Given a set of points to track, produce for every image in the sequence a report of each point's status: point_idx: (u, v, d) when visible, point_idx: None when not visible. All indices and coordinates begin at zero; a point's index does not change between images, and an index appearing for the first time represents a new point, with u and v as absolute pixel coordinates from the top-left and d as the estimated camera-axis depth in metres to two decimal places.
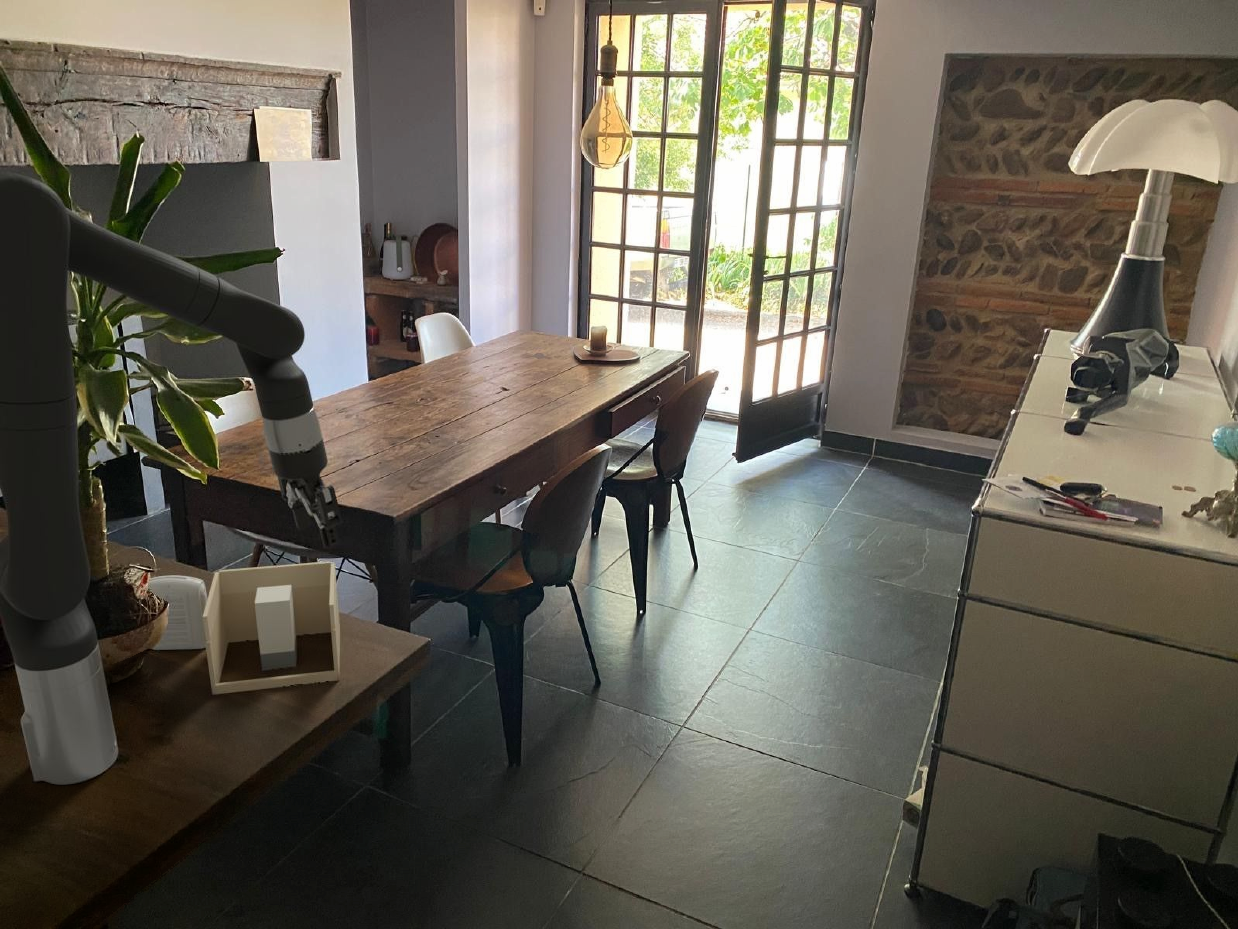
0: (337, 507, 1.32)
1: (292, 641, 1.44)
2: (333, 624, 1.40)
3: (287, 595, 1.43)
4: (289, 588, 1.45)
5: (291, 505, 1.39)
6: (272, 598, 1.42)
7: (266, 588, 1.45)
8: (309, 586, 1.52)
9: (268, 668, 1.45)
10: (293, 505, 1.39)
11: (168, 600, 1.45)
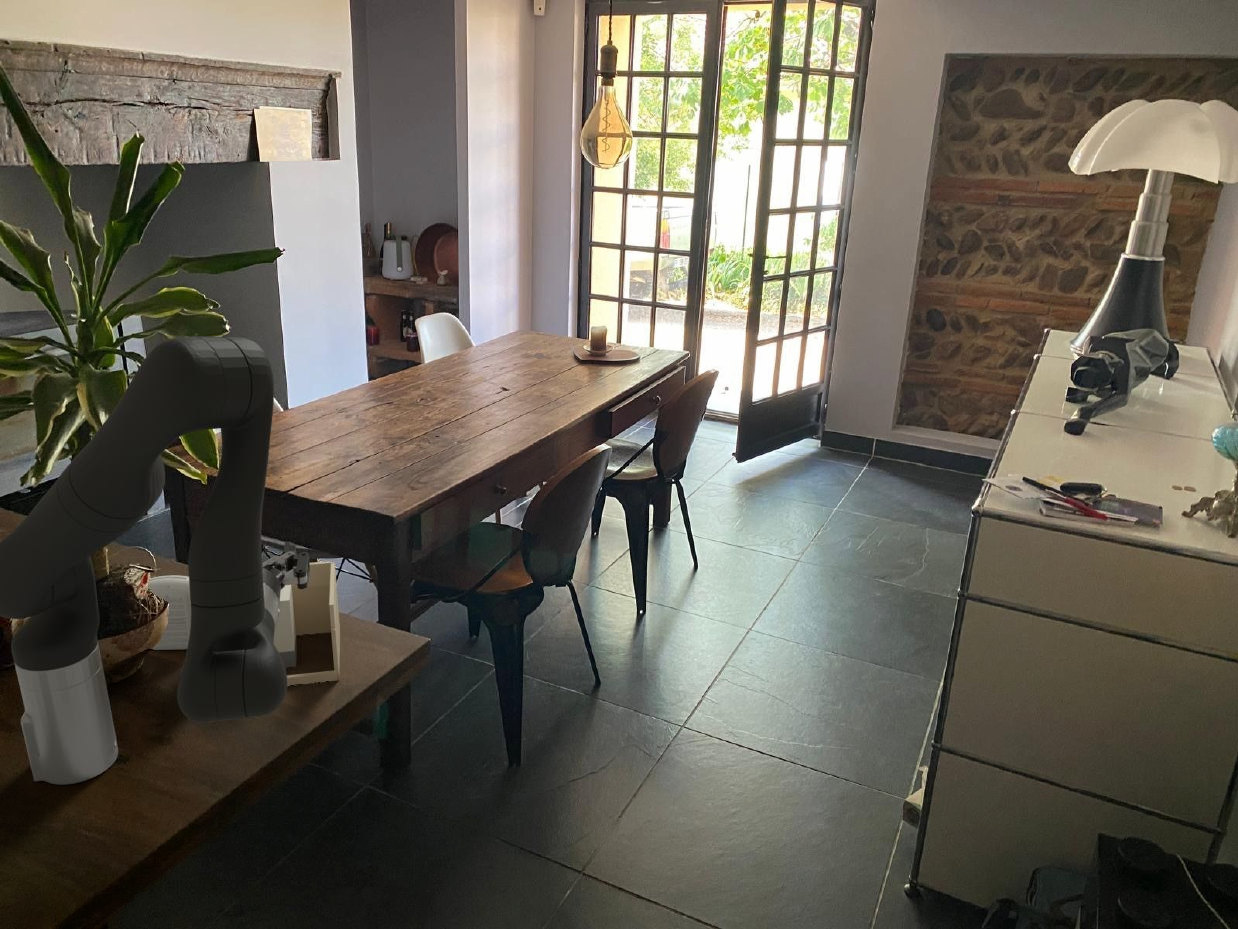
0: None
1: (292, 641, 1.44)
2: (333, 624, 1.40)
3: (287, 595, 1.43)
4: (289, 588, 1.45)
5: (285, 553, 1.23)
6: None
7: None
8: (309, 586, 1.52)
9: None
10: None
11: (168, 600, 1.45)
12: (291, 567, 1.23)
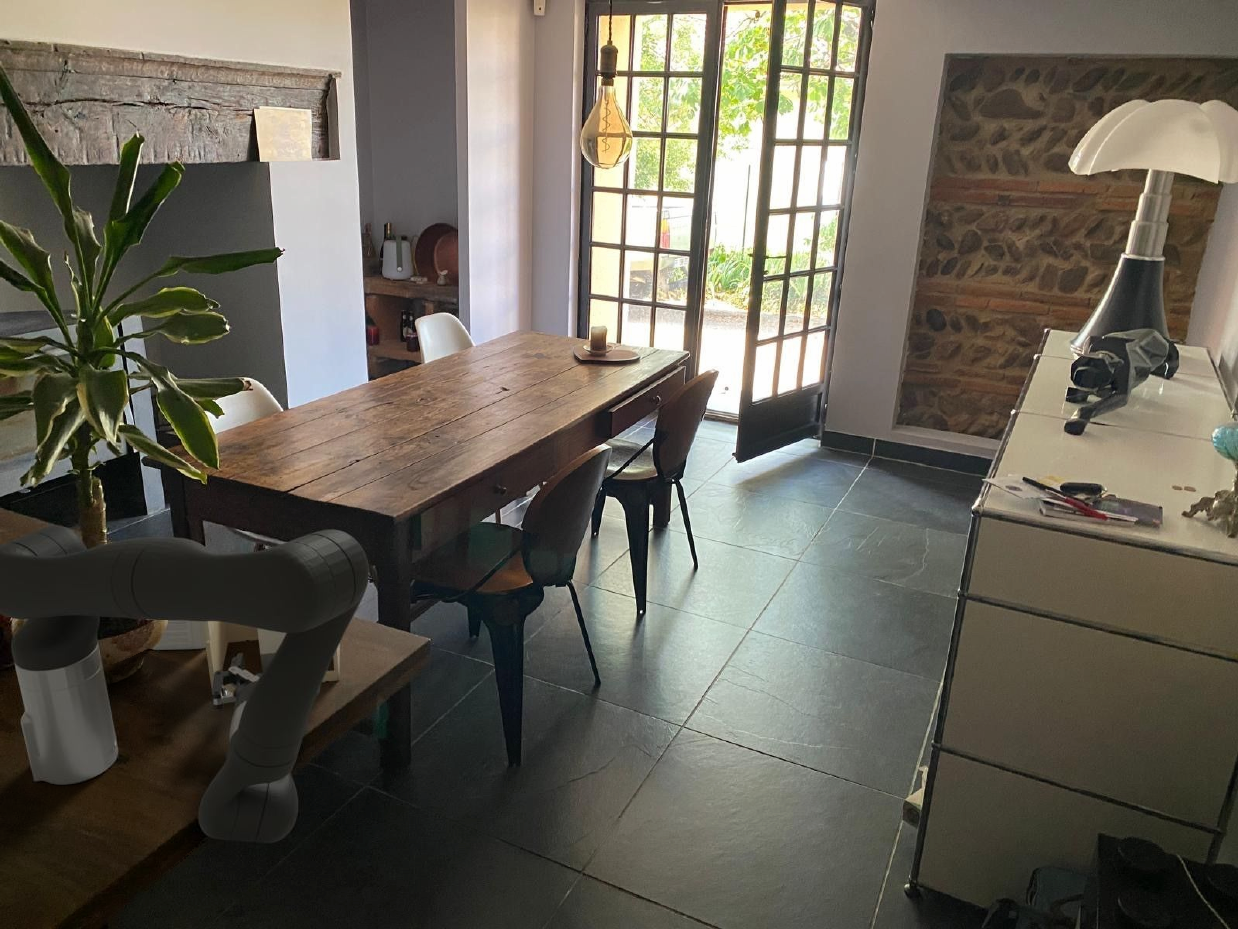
0: None
1: None
2: None
3: None
4: None
5: None
6: None
7: None
8: None
9: None
10: None
11: None
12: None
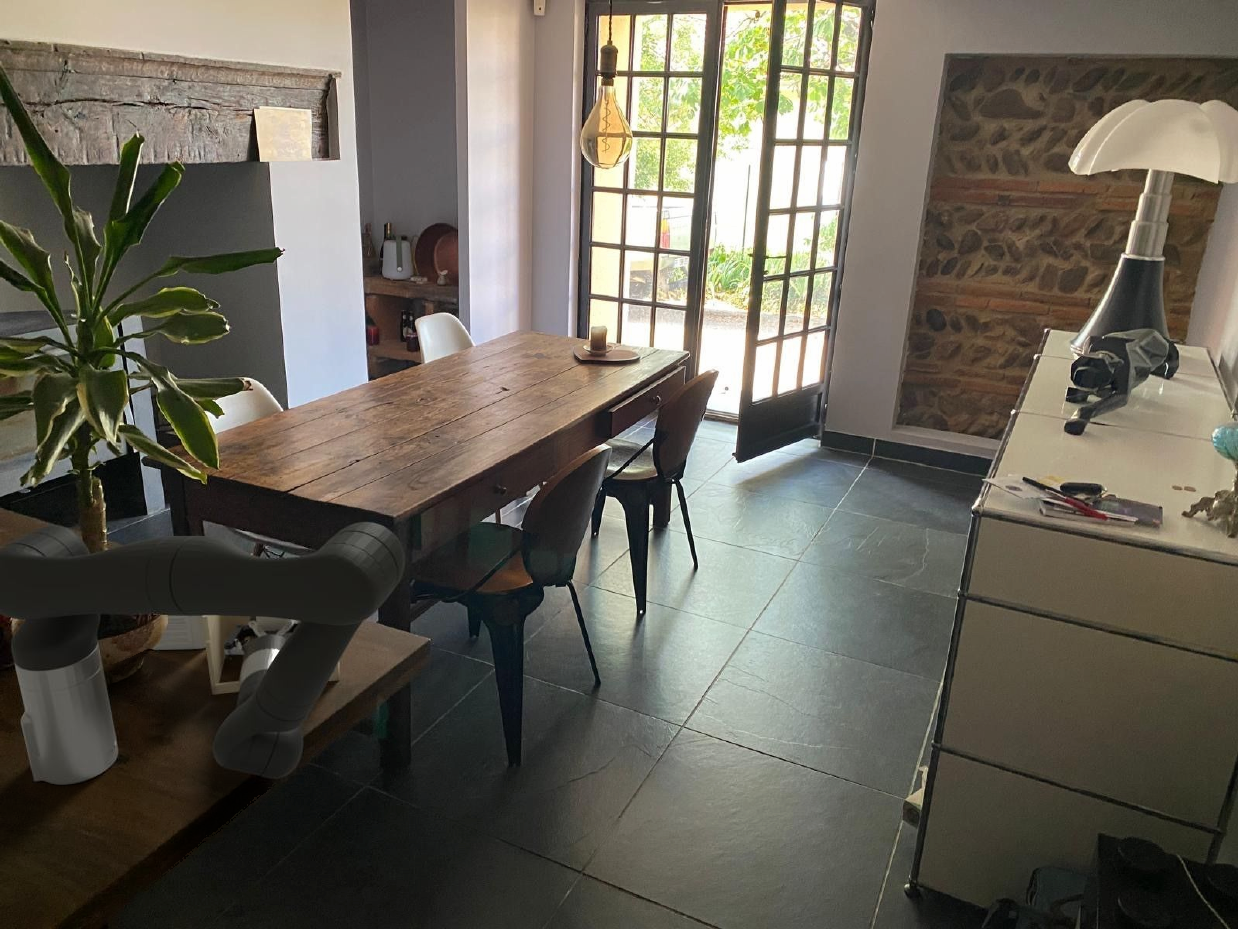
0: None
1: None
2: None
3: None
4: None
5: None
6: None
7: None
8: None
9: None
10: None
11: None
12: None
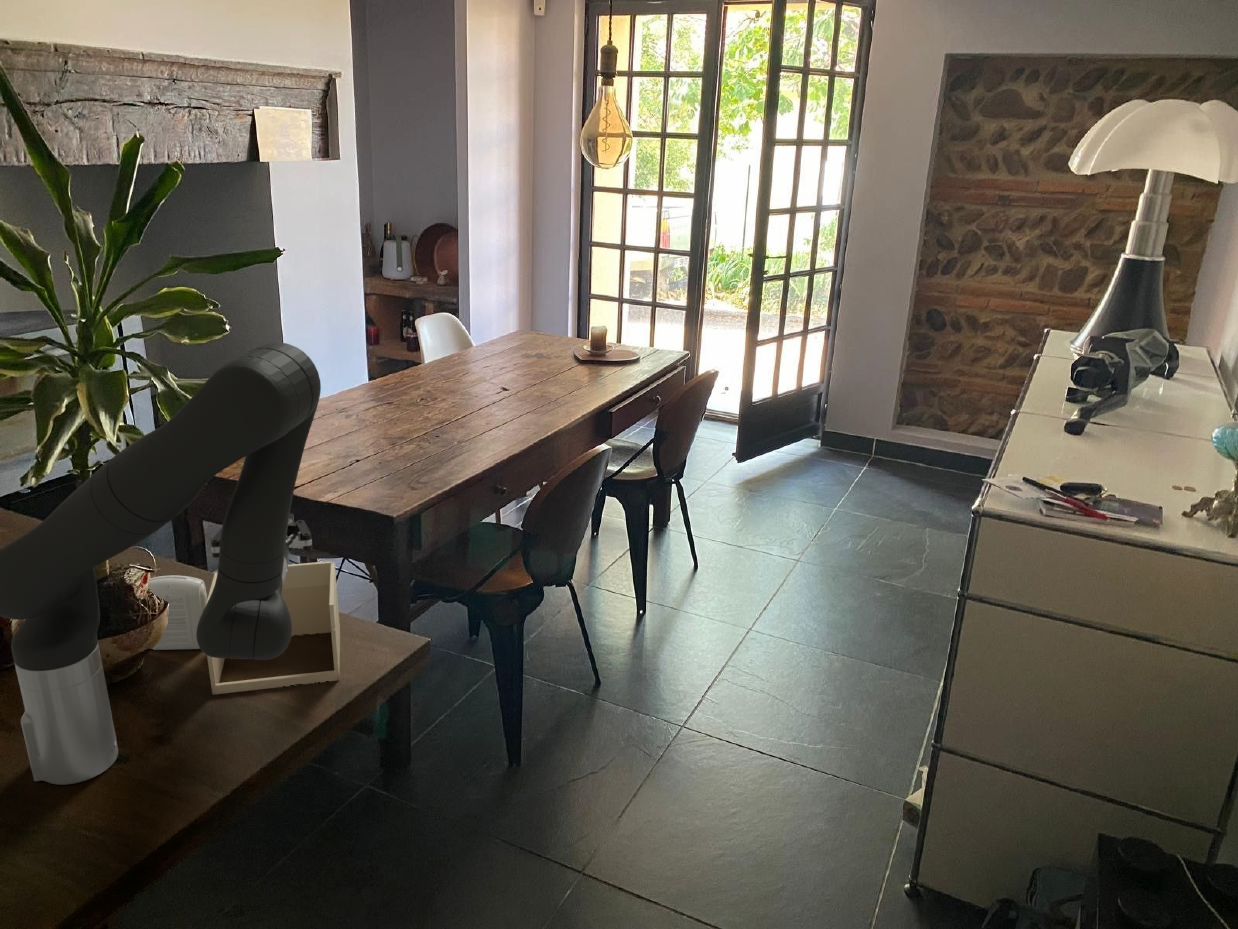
0: None
1: None
2: (333, 624, 1.40)
3: None
4: None
5: None
6: None
7: None
8: (309, 586, 1.52)
9: None
10: None
11: (168, 600, 1.45)
12: (290, 533, 1.38)
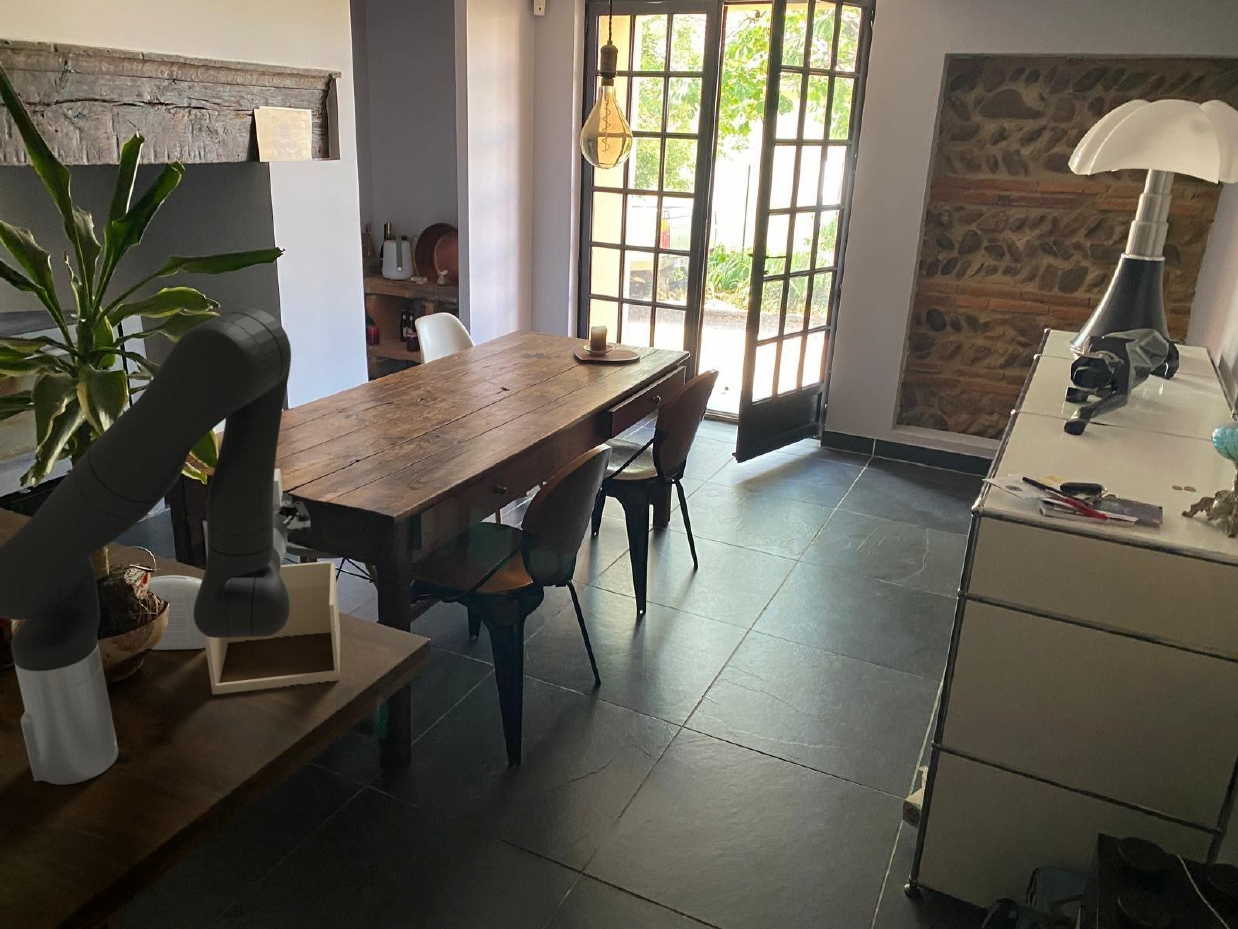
0: None
1: None
2: (333, 624, 1.40)
3: (276, 476, 1.36)
4: (278, 471, 1.38)
5: (282, 502, 1.37)
6: None
7: None
8: (309, 586, 1.52)
9: None
10: None
11: (168, 600, 1.45)
12: None
